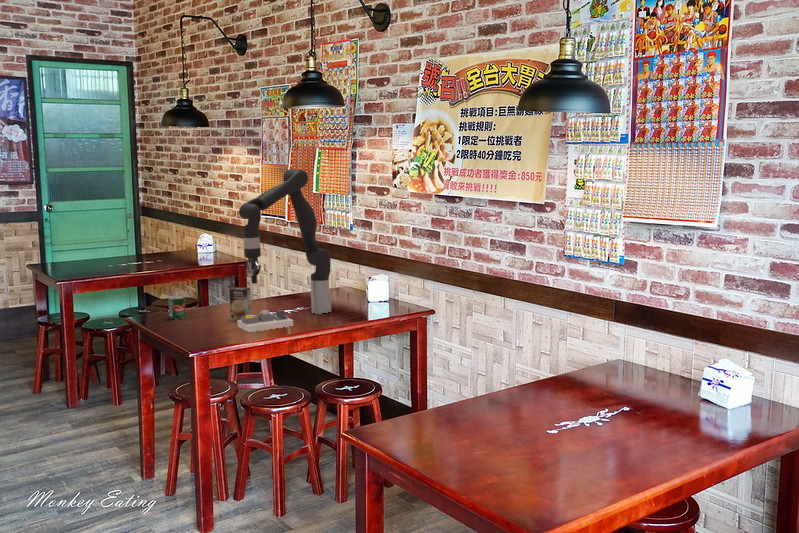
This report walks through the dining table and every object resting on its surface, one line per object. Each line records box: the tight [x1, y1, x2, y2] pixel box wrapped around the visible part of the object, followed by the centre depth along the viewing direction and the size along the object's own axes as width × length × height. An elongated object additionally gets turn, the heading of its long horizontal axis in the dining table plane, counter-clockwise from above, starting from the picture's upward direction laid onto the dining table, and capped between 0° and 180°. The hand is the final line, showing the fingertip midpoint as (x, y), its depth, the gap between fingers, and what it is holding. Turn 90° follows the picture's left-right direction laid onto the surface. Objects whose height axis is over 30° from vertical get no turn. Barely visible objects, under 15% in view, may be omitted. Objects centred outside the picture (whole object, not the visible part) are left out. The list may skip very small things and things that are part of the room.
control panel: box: [237, 312, 294, 334], centre depth 352 cm, size 22×15×6 cm
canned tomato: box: [167, 295, 187, 321], centre depth 371 cm, size 8×8×11 cm
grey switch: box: [260, 309, 270, 317], centre depth 352 cm, size 4×4×3 cm
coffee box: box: [229, 286, 252, 323], centre depth 365 cm, size 9×6×16 cm
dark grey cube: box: [275, 309, 286, 320], centre depth 354 cm, size 3×3×4 cm
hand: (254, 283), depth 349 cm, fingers closed
